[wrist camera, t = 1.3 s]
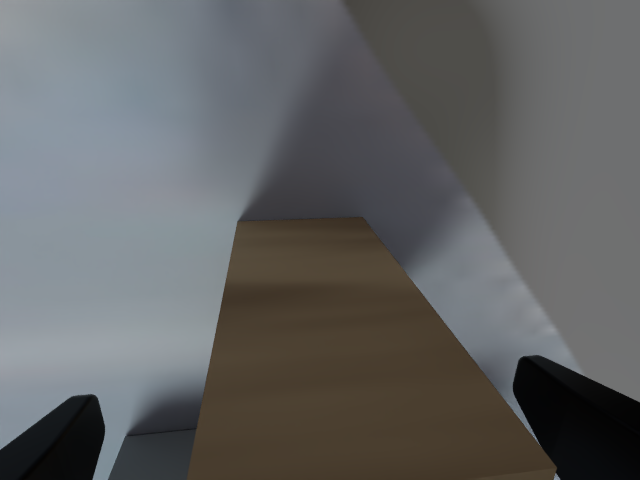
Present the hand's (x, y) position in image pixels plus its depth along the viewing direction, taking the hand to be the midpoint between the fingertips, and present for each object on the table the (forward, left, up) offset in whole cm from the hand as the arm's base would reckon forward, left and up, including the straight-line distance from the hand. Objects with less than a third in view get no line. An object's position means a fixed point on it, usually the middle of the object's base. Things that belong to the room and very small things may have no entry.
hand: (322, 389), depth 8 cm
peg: (0, 0, -5) cm, 5 cm away
